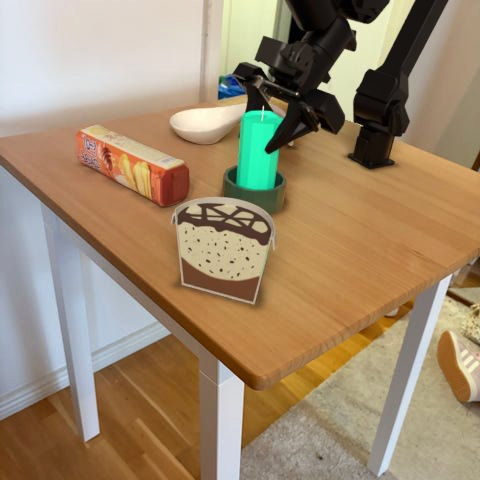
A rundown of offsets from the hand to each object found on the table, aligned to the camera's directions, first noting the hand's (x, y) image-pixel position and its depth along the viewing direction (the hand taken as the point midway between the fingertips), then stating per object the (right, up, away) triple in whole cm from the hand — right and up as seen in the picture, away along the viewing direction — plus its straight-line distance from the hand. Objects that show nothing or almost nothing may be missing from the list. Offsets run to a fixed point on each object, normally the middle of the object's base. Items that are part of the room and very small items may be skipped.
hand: (252, 145), depth 77 cm
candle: (0, -5, +5) cm, 7 cm away
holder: (0, -7, +6) cm, 9 cm away
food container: (-4, -21, -11) cm, 24 cm away
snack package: (-19, -3, +8) cm, 21 cm away
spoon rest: (-4, +9, +25) cm, 27 cm away
